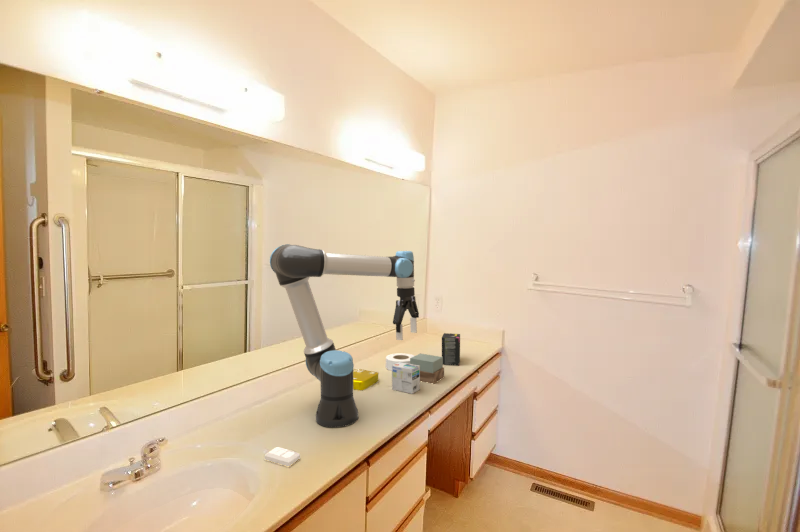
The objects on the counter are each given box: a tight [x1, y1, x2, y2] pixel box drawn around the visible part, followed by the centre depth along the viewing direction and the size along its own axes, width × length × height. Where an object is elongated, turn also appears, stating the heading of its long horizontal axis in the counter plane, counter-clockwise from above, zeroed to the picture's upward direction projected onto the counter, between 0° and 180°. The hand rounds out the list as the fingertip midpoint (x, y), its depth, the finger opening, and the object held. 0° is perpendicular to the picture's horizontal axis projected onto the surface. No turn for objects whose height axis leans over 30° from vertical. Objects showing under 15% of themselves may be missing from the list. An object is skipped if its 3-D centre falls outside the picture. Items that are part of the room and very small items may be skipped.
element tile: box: [353, 367, 379, 391], centre depth 183 cm, size 15×15×5 cm
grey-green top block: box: [410, 353, 444, 373], centre depth 190 cm, size 10×12×5 cm
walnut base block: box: [420, 366, 445, 385], centre depth 190 cm, size 11×13×5 cm
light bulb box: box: [391, 362, 421, 395], centre depth 175 cm, size 11×7×11 cm, turn 58°
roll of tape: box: [385, 352, 415, 372], centre depth 207 cm, size 16×16×6 cm
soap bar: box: [263, 446, 301, 467], centre depth 118 cm, size 5×9×3 cm, turn 65°
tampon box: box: [441, 332, 461, 367], centre depth 215 cm, size 11×9×15 cm
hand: (406, 336), depth 174 cm, fingers open, 13 cm apart
